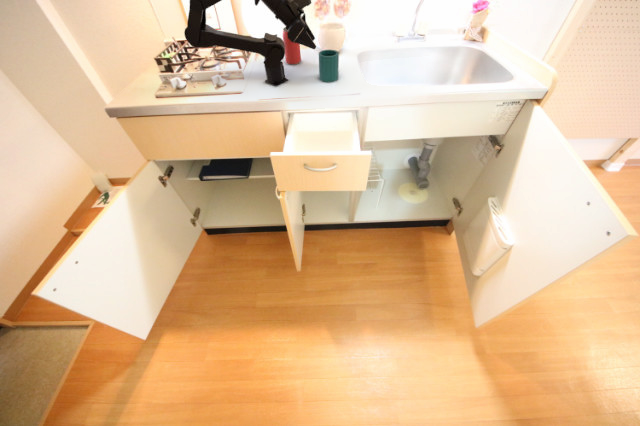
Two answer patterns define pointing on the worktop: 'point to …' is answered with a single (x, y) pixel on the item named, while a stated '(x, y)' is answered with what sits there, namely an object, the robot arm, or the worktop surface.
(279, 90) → the worktop surface
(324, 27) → the cup
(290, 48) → the beer can
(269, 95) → the worktop surface
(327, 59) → the jar
